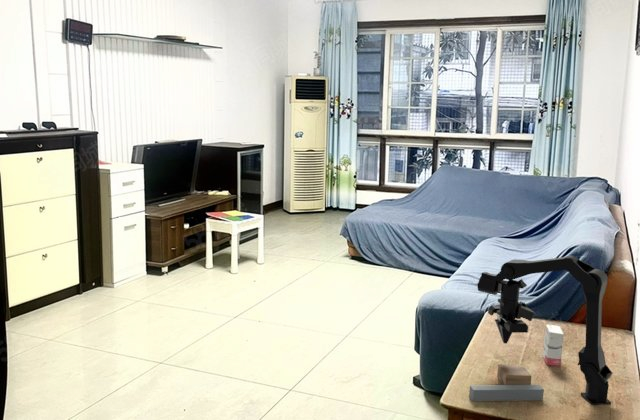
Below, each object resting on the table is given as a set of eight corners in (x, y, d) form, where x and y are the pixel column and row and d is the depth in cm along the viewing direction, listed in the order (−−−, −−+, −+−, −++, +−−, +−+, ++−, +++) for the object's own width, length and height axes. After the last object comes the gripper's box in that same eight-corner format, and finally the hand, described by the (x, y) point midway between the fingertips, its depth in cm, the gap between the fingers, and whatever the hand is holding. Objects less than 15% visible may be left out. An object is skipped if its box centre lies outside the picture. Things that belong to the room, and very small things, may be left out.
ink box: (560, 366, 208) (564, 334, 206) (545, 365, 209) (549, 332, 207) (556, 356, 216) (560, 325, 214) (542, 355, 217) (545, 323, 215)
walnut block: (530, 389, 191) (531, 375, 190) (504, 388, 191) (506, 374, 190) (521, 377, 199) (522, 364, 198) (497, 377, 198) (498, 364, 198)
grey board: (542, 400, 183) (543, 389, 183) (472, 401, 181) (473, 390, 180) (538, 395, 186) (539, 384, 186) (469, 396, 184) (470, 385, 183)
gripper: (546, 307, 191) (541, 354, 193) (520, 289, 209) (516, 332, 212) (512, 307, 189) (507, 354, 192) (489, 289, 208) (485, 332, 210)
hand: (505, 343), depth 202 cm, fingers closed
